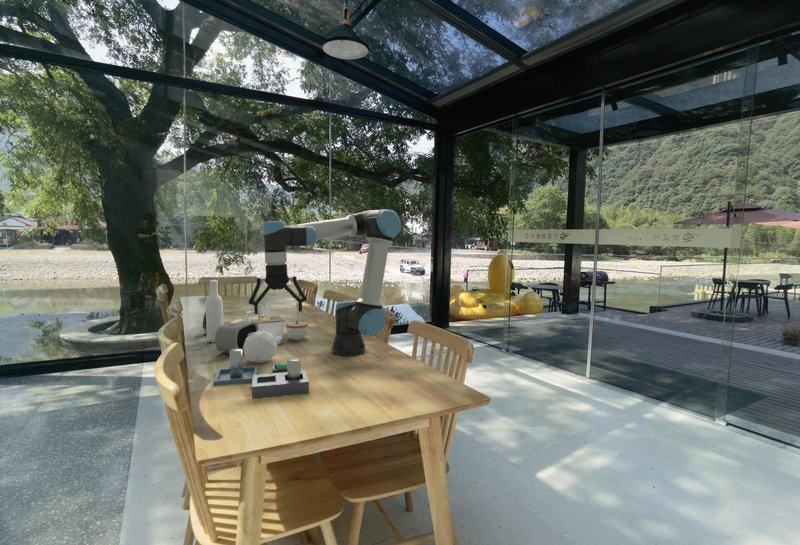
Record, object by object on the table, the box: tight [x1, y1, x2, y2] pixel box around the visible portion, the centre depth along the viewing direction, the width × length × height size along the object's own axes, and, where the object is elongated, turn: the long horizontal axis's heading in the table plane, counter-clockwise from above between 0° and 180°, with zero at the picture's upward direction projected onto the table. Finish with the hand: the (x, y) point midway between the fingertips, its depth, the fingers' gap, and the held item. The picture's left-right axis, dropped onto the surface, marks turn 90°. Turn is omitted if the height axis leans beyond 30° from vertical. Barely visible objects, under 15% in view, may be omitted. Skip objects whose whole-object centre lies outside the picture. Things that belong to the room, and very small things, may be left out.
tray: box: [213, 365, 258, 387], centre depth 153 cm, size 14×14×2 cm
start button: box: [275, 361, 287, 369], centre depth 156 cm, size 4×4×3 cm
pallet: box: [251, 370, 310, 400], centre depth 143 cm, size 18×12×4 cm, turn 107°
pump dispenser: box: [201, 310, 207, 334], centre depth 222 cm, size 10×10×15 cm
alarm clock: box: [214, 318, 260, 354], centre depth 191 cm, size 21×10×13 cm, turn 170°
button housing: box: [271, 363, 287, 373], centre depth 156 cm, size 7×7×4 cm
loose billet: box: [229, 349, 244, 379], centre depth 153 cm, size 4×4×10 cm
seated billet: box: [286, 358, 301, 381], centre depth 144 cm, size 4×4×10 cm
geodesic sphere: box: [243, 329, 278, 364], centre depth 173 cm, size 14×14×14 cm
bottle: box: [205, 279, 224, 343], centre depth 206 cm, size 8×8×30 cm
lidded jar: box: [285, 320, 309, 341], centre depth 213 cm, size 11×11×9 cm
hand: (279, 321), depth 154 cm, fingers open, 13 cm apart
